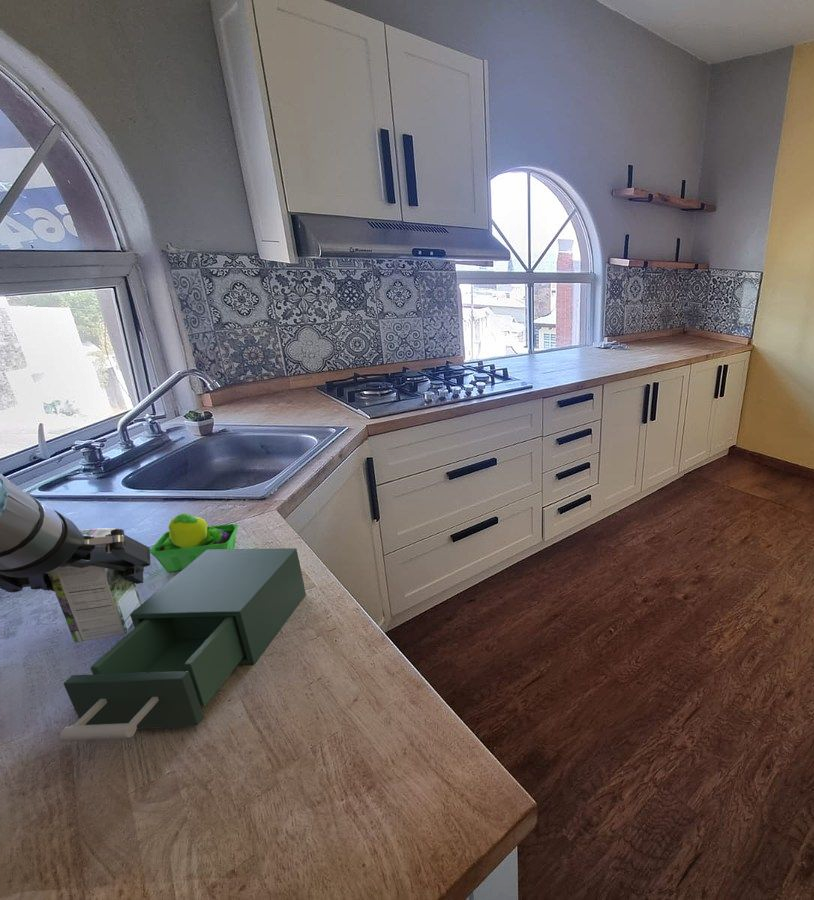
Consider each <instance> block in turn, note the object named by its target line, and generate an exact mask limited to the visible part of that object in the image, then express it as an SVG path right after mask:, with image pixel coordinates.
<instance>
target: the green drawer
mask: <svg viewBox="0 0 814 900" xmlns="http://www.w3.org/2000/svg"><path fill="white" fill-rule="evenodd" d="M244 656H245V650H244V646H243V643H242V639H241V635H240V632H239V628H238V624H237V621H236V617H235V616H221V617H183V618H146V619H144V620H143V621H142V622H141V623H140V624H139V625H138V626H136V627H134V628H133V629H132V630H130V631H129V632H127V633H126V634H125V636H124V637H123V638H121V639H120V640H119V641H118V642H117V643H116V644H114V646H112V647H111V648H110V649H109V650H108V651H107V652H105V653H104V654H102V656H101V657H100V658H99V659H97V660H96V662H94V663H93V664H92V665H91V666H90V667H89V669H90V672H91V674H72V675H70V677H69V678H67V679H66V680H65V681H64V682H63V686H64V689H65V690H66V693H67V695H68V697H69V699H70V702H71V704H72V707H73V708H74V710H75V713H76V715H77V718H78V720H77V721H75V723H73V724H72V725H67V726H65V727H64V728H62V729H61V731H60V733H59V740H60V741H62V742H69V741H91V740H113V739H130V738H132V737H133V736H134V735H135V733H136V732H137V729H157V728H159V729H160V728H161V729H162V728H179V727H180V728H181V727H182V728H183V727H198V726H199V725H200V724H201V722H203V720H204V718H205V715H204V714H203V710H202V707H203V708H205V707H206V705H207V704H208V703H209V702H210V701H211V699H212V698H213V697H214V695H215V694H216V693H217V691H218V690H219V689H220V688H221V687H222V685H223V684H224V682H226V680H227V679H228V678H229V676H230V675H231V674H232V673H233V671H234V670H235V669H236V668H237V666H239V665H238V663H239V662H240V661H241V659H242V658H243V657H244Z"/></svg>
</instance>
